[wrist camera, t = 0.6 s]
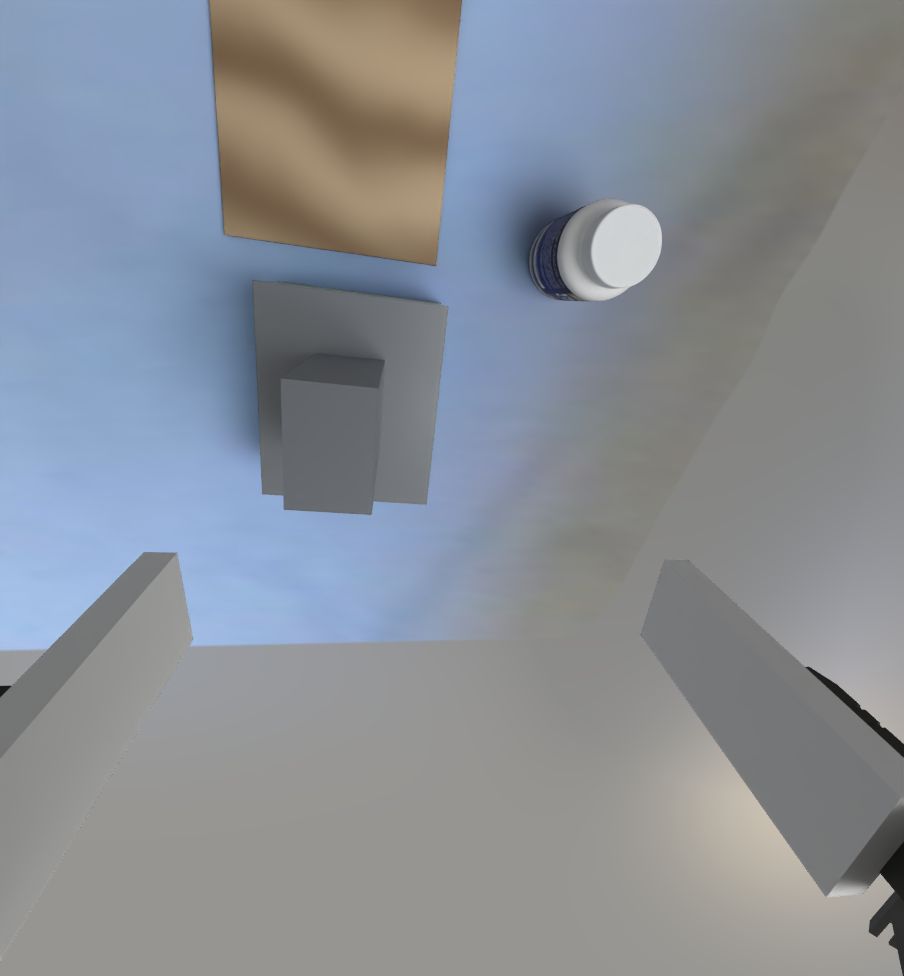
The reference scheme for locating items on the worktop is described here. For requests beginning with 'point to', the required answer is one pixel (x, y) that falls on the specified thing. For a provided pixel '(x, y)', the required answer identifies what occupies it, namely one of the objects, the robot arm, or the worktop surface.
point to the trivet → (335, 121)
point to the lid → (346, 396)
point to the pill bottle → (596, 251)
